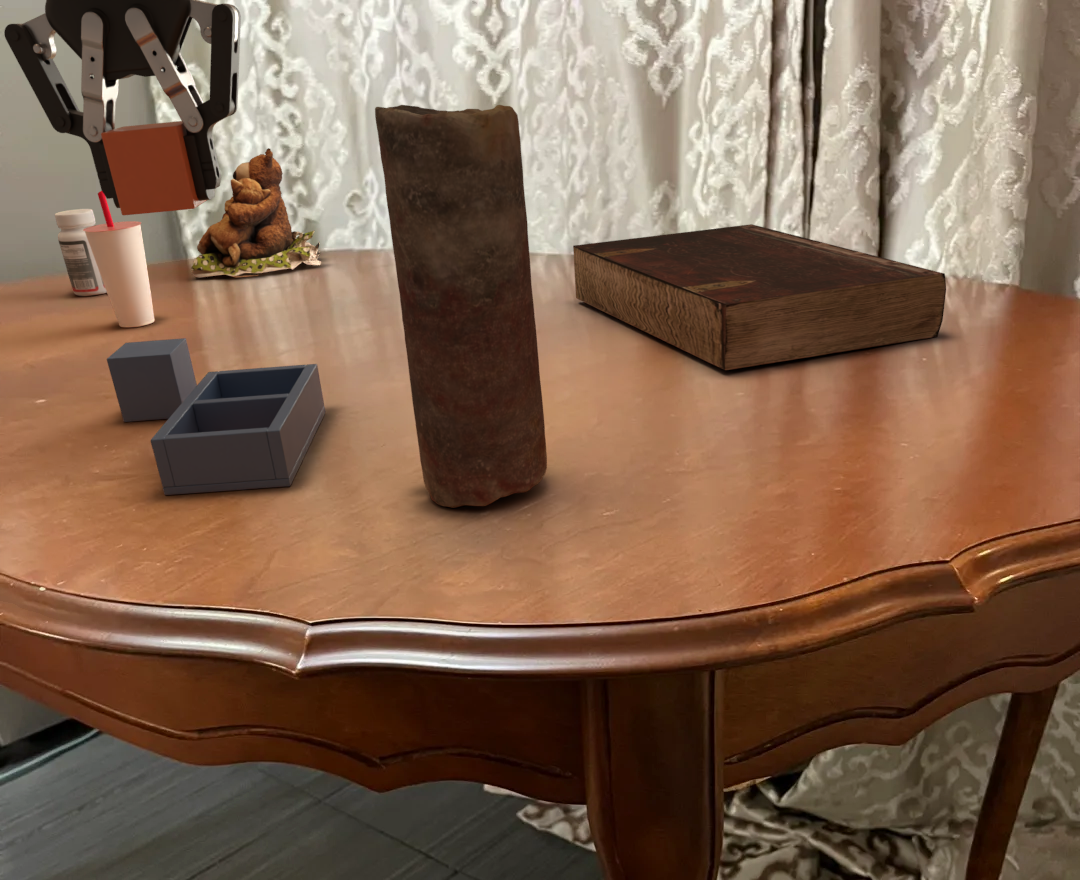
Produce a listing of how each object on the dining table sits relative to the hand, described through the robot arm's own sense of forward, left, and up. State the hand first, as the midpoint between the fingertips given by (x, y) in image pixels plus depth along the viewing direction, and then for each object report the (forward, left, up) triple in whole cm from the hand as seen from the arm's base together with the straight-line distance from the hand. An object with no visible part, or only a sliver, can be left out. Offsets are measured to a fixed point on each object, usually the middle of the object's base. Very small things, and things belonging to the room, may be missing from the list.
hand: (166, 201), depth 71 cm
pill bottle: (-27, +55, -15) cm, 62 cm away
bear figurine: (-10, +63, -15) cm, 65 cm away
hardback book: (+40, +21, -15) cm, 48 cm away
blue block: (-5, +6, -15) cm, 17 cm away
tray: (+3, -5, -15) cm, 16 cm away
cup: (-16, +37, -15) cm, 43 cm away
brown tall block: (+20, -15, -15) cm, 29 cm away
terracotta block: (0, 0, 0) cm, 0 cm away
